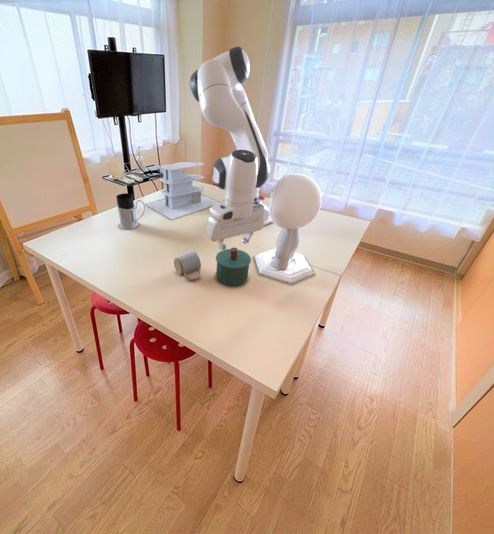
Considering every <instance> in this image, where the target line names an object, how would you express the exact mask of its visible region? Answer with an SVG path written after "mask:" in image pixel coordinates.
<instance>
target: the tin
mask: <svg viewBox="0 0 494 534" xmlns="http://www.w3.org/2000/svg"><path fill="white" fill-rule="evenodd" d="M249 270H250V264H249V265H248V266H247V267H245V268H242V269H229V268H225V267H223V266H221V265H219V264H218V262H217V261H216V274H215V275H216V276H215V277H216V280H217V281H218V283H220V284H221V285H223V286H225V287H228V288H229V287H230V288H236V287H241V286H244V284H246V283H247V281H248V278H249Z"/></svg>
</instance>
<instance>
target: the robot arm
mask: <svg viewBox="0 0 494 534" xmlns="http://www.w3.org/2000/svg"><path fill="white" fill-rule="evenodd" d="M250 65H251V63H250V59H249V56H248V54H247V53H246V51H245V50H244V49H243V48H242V47H241V46H239V45H238V46H234V47H231V48H229V49H228V51H225V52H223V53H221V54H218V55H217V56H215V57H213V58H212V59H209V60H206V61H204V62H203V63H202V64H201V65H200V66H199V68H198V69H196V70H195V71H193V73H192V74H191V75H190V78H189V88H190V91H191V94H192V96H193V97H194V99H195V101H196V102H198V103H199V106H200V111H201V115H202V116H203V118H204V120H205V121H206V122H207V123H208V124H209V125H211V126H212V127H215V128H218V129H221V130H224V131H227V132H229V134H230V137H231V139H232V141H233V144H234V146H235V150H233V151H231V153H230V154H229V155H228V156H224V157H223V156H222V157H219V158H218V159H217V160H215V162H214V164H213V165H212V173H211V180H212V183H213V184H214V185H215V186H216V187H217V188H219V189H220V190H224V191H225V196H224V199H223V200H221V201H220V202H219V203H218V204H216V205H213V206H210V207H209V213H210V216H209V217H208V220H207V225H206V237H207V238H208V239H210V240H211V241H212V242H218V244H219V246H218V247H219V249H220V250H221V251H223V250H226V249H227V248H226V247H227V244H226V243H225V242H224V240H226V239H229V238H233V237H237V236H241V235H245V236H243V237H242V243H243V244H244V245H246V244H249V243H250V239H251V238H252V236H254V233H255V232H258V231H262V229H263V228H264V226H266V225H269V224H272V223H273V222H272V220H271V217H270V216H269V214H268V207H269V206H267V205H266V204H264V203H263V202H262V201H265V199H266V197H265V196H264V195H263V194H260V193H259V192H260V188H261V187H262V186H263V185H265V184H266V182H267V181H268V179H269V178H270V175H271V166H270V163H269V161H268V160H269V153H268V149H267V146H266V143H265V141H264V138H263V136H262V134H261V131H260V129H259V127H258V124H257V122H256V120H255V117H254V113H253V111H252V107H251V104H250V102H249V99H248V96H247V93H246V91H245V88H244V87H243V85H245V82H246V81H247V80H248V79H249V76H250V73H251V71H250V69H251V68H250V67H251V66H250Z"/></svg>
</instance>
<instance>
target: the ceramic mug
mask: <svg viewBox="0 0 494 534" xmlns="http://www.w3.org/2000/svg"><path fill="white" fill-rule="evenodd" d="M173 266H174V269H175V271H176V273H177V274H178V275H180V276H184V277H185V278H186V279H187V280H188V281H191V282H195V281H197V280H198V279H199V278H200V277H201V268H202V262H201V259H200V256H199V254H198V253H197V252H196V250H190V251H187V252H185V253H183V254H180V255H178V256H176V257H175V258H174V259H173ZM194 272H198V275H197V276H196V277H190V276H188V275H189V274H191V273H194Z"/></svg>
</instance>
